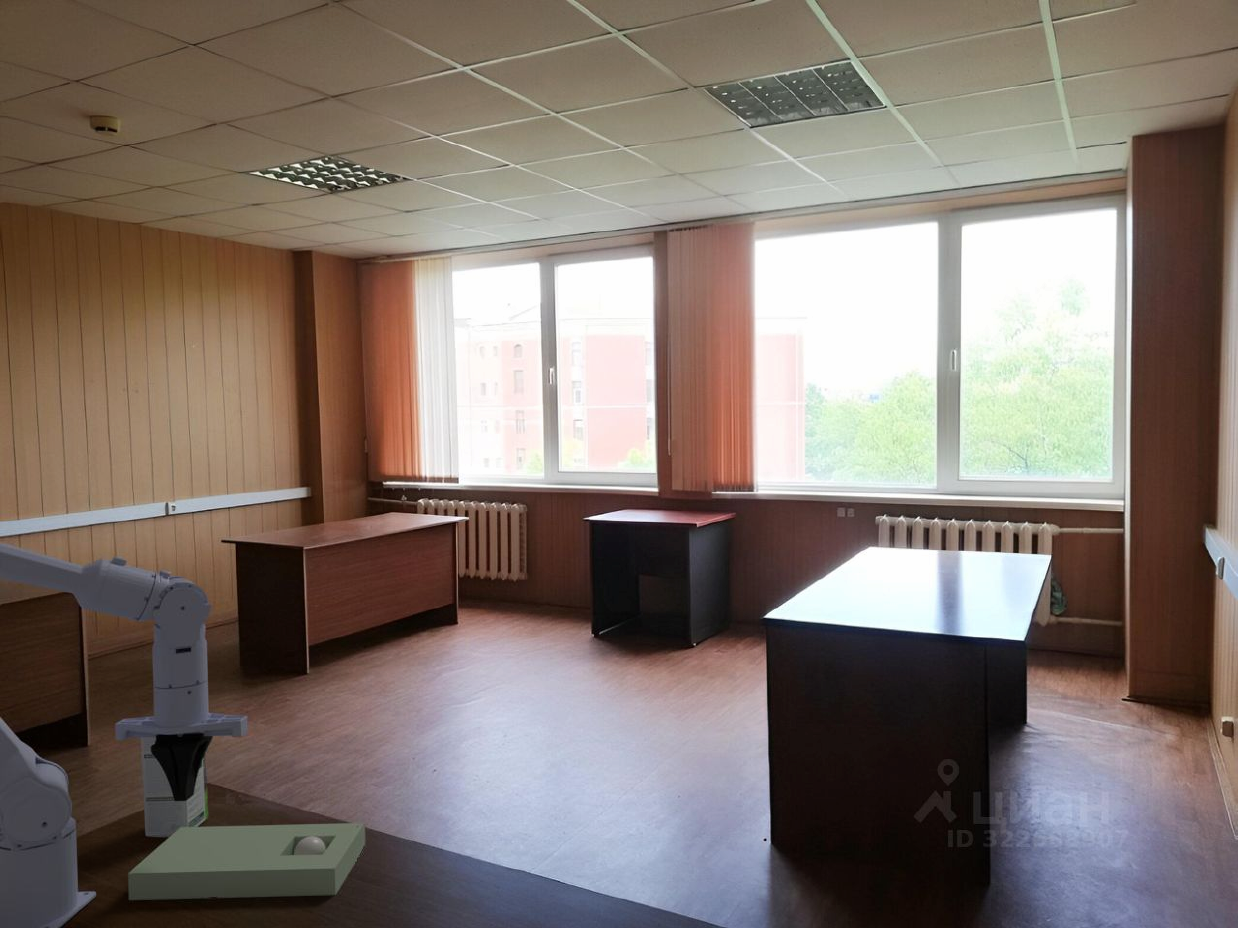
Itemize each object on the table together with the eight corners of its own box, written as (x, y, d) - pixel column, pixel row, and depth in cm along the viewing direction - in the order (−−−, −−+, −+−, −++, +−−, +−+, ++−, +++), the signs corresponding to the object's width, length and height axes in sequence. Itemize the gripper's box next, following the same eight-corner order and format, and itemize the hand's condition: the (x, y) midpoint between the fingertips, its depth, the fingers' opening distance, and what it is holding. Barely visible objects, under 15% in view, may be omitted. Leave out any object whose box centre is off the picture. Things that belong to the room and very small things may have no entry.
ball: (326, 860, 103) (304, 881, 103) (336, 845, 106) (314, 865, 106) (305, 838, 103) (282, 859, 103) (315, 824, 106) (293, 844, 106)
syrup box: (187, 837, 114) (184, 726, 114) (142, 837, 114) (139, 726, 114) (209, 818, 120) (206, 712, 120) (166, 819, 120) (163, 713, 120)
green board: (128, 899, 98) (128, 873, 98) (181, 850, 110) (180, 827, 110) (335, 894, 99) (334, 868, 98) (365, 846, 111) (364, 822, 110)
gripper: (256, 672, 107) (259, 783, 107) (136, 674, 107) (140, 786, 107) (231, 687, 100) (235, 806, 100) (103, 690, 100) (107, 809, 100)
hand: (184, 797), depth 103 cm, fingers closed
